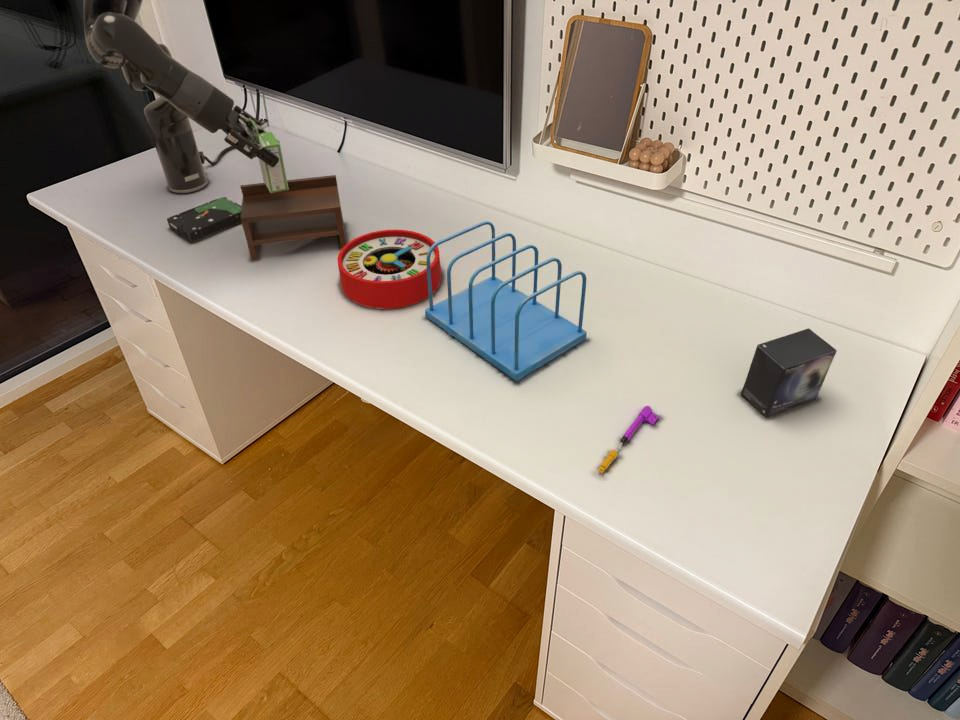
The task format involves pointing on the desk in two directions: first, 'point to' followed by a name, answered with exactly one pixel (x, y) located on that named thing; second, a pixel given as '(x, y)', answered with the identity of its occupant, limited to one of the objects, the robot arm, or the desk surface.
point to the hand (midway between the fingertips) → (277, 154)
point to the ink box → (271, 175)
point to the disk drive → (206, 219)
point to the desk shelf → (291, 212)
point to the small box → (787, 372)
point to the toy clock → (388, 269)
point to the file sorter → (506, 314)
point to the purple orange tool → (630, 434)
